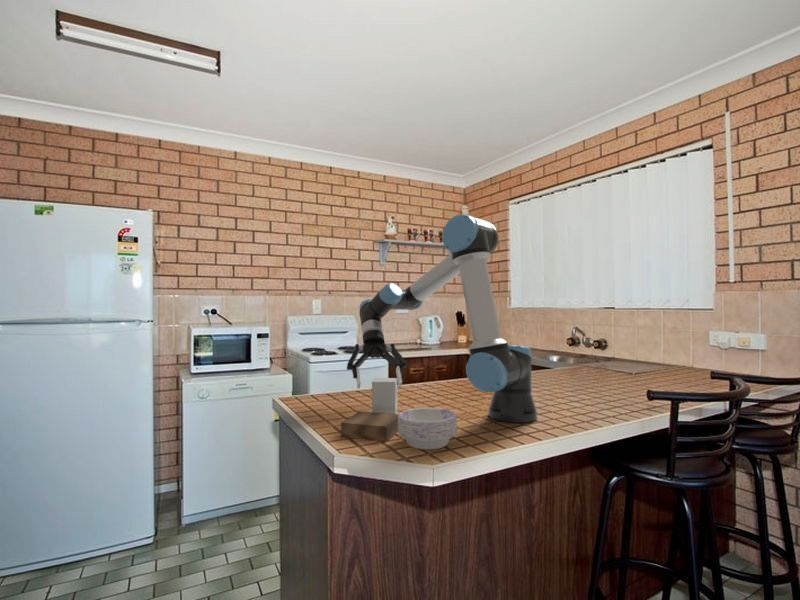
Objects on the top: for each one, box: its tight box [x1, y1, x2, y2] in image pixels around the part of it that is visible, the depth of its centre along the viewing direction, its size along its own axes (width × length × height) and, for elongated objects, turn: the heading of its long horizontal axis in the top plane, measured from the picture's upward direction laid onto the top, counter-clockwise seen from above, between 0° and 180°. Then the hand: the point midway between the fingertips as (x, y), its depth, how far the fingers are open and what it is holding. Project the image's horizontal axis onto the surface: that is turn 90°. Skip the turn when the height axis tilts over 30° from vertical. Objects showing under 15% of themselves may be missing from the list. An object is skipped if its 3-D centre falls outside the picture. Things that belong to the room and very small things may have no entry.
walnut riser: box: [340, 411, 399, 443], centre depth 120 cm, size 13×13×4 cm
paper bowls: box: [397, 407, 458, 451], centre depth 110 cm, size 15×15×8 cm
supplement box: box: [371, 377, 398, 414], centre depth 133 cm, size 7×7×13 cm
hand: (380, 385), depth 138 cm, fingers open, 13 cm apart
